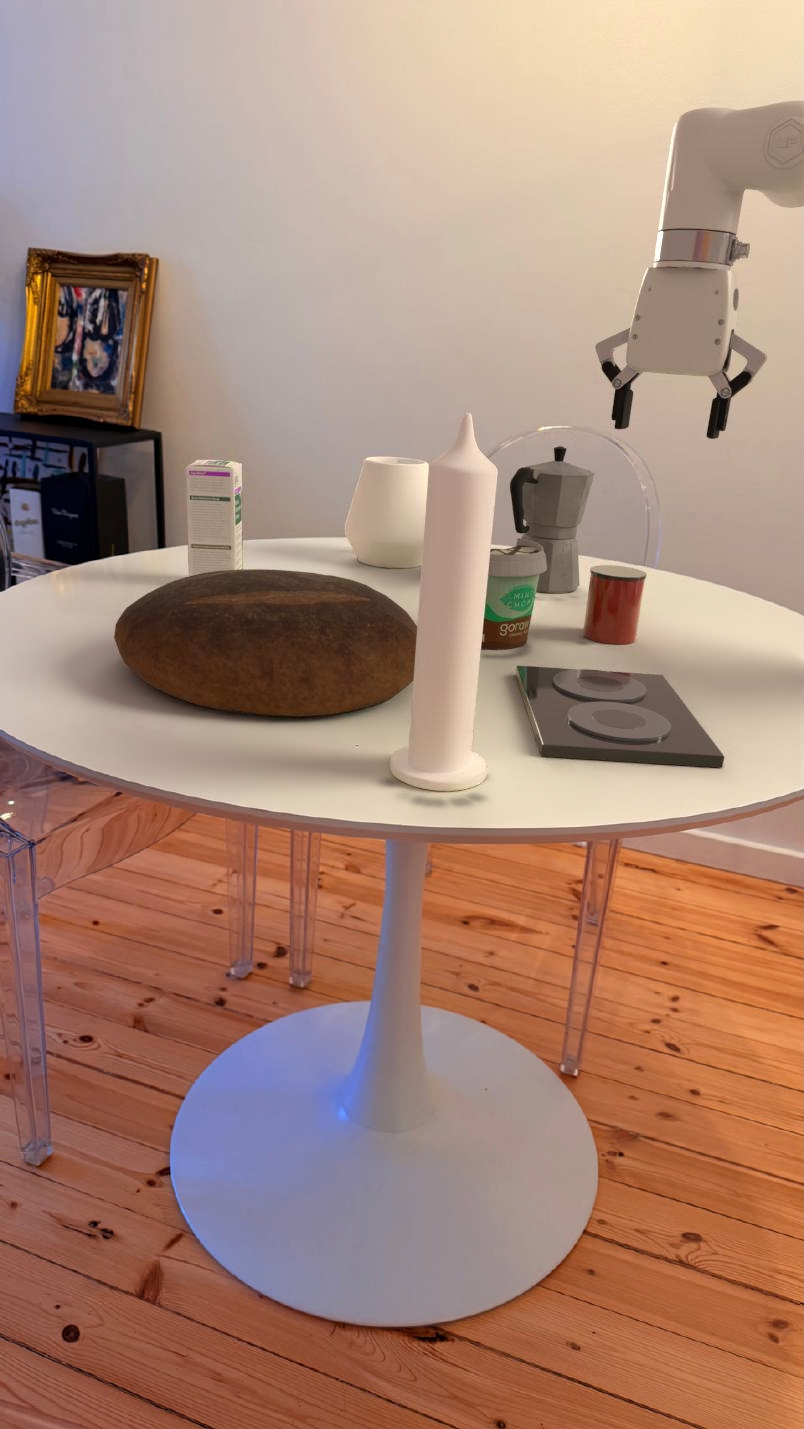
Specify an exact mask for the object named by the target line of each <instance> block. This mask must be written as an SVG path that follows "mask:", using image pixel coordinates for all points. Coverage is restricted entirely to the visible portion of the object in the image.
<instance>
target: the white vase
mask: <svg viewBox="0 0 804 1429" xmlns="http://www.w3.org/2000/svg"><path fill="white" fill-rule="evenodd" d="M360 469H361V470H360V473H359V476H358V479H357V482H356V486H355V489H354V492H353V496H352V500H351V503H350V506H349V510H348V513H347V517H346V520H345V523H344V534H345V537H346V539H347V540H348V542H349V545H350V546H351V548H352V550H353V552H354V554H355V556H356V558H357V560H358V562H360V563H362V564H363V565H368V566H372V567H376V568H377V567H378V568H386V569H411V568H412V569H413V568H416V567H421V566H422V555H423V541H424V527H425V513H426V499H427V485H428V471H429V463H428V462H427V461H425V460H422V459H417V458H411V457H400V456H399V457H398V456H369V457H366V458H364V459H363V463H362V466H361V468H360Z"/></svg>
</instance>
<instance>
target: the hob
mask: <svg viewBox="0 0 804 1429" xmlns="http://www.w3.org/2000/svg"><path fill="white" fill-rule="evenodd" d="M515 668H516V669H515V677H516V680H517V684H518V687H519V690H520V693H521V696H522V699H523V702H524V705H525V709H526V712H527V715H528V719H529V721H530V725H531V728H532V732H533V734H534V737H535V741H536V744H537V748H538V750H539V754H540V756H541V757H543V758H544V757H548V758H559V759H560V758H561V759H562V758H563V759H575V760H576V759H579V760H593V761H607V762H608V761H610V762H622V763H623V762H624V763H640V764H641V763H642V764H654V765H655V764H657V765H670V766H671V765H673V766H687V767H688V766H689V767H703V768H720V769H721V768H723V766H724V761H725V755H724V754H723V752H722V750H720V748H719V747H718V746H717V745H716V743H715V742H714V741H713V739H712V737H710V736H709V733H707V731H706V730H705V728H704V727H703V726H702V725H701V724H700V722H699V720H698V719H697V718H696V717H695V715H694V714H693V713H692V712H691V710H690V709H689V708H688V707H687V705H686V704H685V702H684V701H683V699H682V698H681V697H680V696H679V695H678V693H677V692H676V690H675V689H674V687H673V686H672V685H671V684H670V683H669V681H668V680H667V678H666V677H665V676H664V675H663V674H654V673H642V672H640V673H639V672H623V671H609V670H601V669H600V670H599V669H590V668H589V669H588V668H587V669H586V668H581V669H580V668H579V669H577V668H563V667H562V668H561V667H548V666H547V667H546V666H533V665H531V666H530V665H516V667H515Z"/></svg>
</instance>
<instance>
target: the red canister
mask: <svg viewBox="0 0 804 1429" xmlns="http://www.w3.org/2000/svg"><path fill="white" fill-rule="evenodd" d="M589 572H590V577H589V584H588V592H587V600H586V608H585V613H584V614H585V615H584V622H583V628H582V629H583V631H582V635H583V636H584V637H585V638H586V639H588V640H590V641H594V642H597V643H602V644H608V645H629V644H634V643H635V642H636V640H637V635H638V628H639V622H640V615H641V609H642V602H643V596H644V590H645V589H644V588H645V583H646V579H647V572H645V571H643V570H641V569H638V568H634V567H629V566H622V565H614V564H613V565H611V564H600V565H594V566H591V567H590V571H589Z"/></svg>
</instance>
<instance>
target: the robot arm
mask: <svg viewBox="0 0 804 1429" xmlns="http://www.w3.org/2000/svg"><path fill="white" fill-rule="evenodd" d="M669 147H670V148H669V154H668V159H667V160H668V161H667V167H666V174H665V175H666V176H665V183H664V189H663V196H662V201H661V202H662V203H661V210H660V215H659V216H660V217H659V223H658V230H657V237H656V245H655V251H654V258H653V265H652V267H646V270H645V272H644V275H643V278H642V281H641V284H640V288H639V292H638V295H637V298H636V302H635V306H634V310H633V315H632V320H631V324H630V327H628V328H627V329H624V330H622V331H620V332H617V333H616V334H614V335H611V336H609V337H607V338H605V339H603V340H600V341H599V342H597V343H596V344H595V347H594V348H595V353H596V355H597V358H598V362H599V363H600V366H601V367H600V369H601V371H602V372H603V374H604V376H605V377H606V378H607V380H608V381H609V382H610V384H611V387H612V388H613V389H614V394H613V395H614V396H613V402H612V404H613V405H612V409H611V421H614V430H625V429H628V428H629V426H630V419H631V414H632V413H631V412H632V406H633V401H634V400H633V398H634V390H633V389H631V388H632V384H633V383H634V382H635V381H636V380H637V379H638V378H639V377H640V376H641V375H642V374H643V373H649V374H651V373H652V374H664V375H676V376H678V375H679V376H690V377H708V379H709V380H710V382H711V384H712V386H713V387H714V389H715V390H716V397H713V398H712V399H711V400H712V401H711V407H710V413H709V418H708V424H707V429H706V438H707V439H708V440H709V439H710V440H715V439H718V438H719V436H720V432H725V431H726V429H727V424H728V418H729V413H730V407H731V401H732V398H734V397H735V396H736V395H737V394H738V393H739V392H741V391H742V390H743V389H744V388H745V387H747V386H748V385H749V384H750V383H752V382H753V380H754V378H755V377H756V376H757V374H758V373H759V372H760V370H761V369H762V367H763V366H764V364H765V363H766V362H767V360H768V356H767V354H766V353H765V352H763V351H762V350H760V349H759V348H757V347H756V346H755V345H753V344H751V343H750V342H748V341H747V340H745V339H744V338H742V337H741V336H739V335H738V334H736V332H737V324H738V323H737V322H738V315H739V314H738V312H739V301H740V300H739V298H740V273H739V272H738V271H734V270H732V267H733V266H734V263H736V261H737V260H738V261H739V260H740V259H748V258H749V254H750V250H751V244H750V242H749V243H748V242H746V243H745V242H743V241H740V240H739V239H738V236H737V234H738V228H739V223H740V217H741V211H742V210H741V209H742V204H743V200H744V194H745V191H746V190H750V191H751V190H752V191H757V192H759V193H762V194H763V196H764V197H766V198H767V200H768V201H770V202H771V203H772V204H774V205H776V206H779V207H781V208H787V209H794V208H803V207H804V100H788V101H787V100H786V101H781V102H776V103H771V104H767V105H762V106H756V107H749V108H742V109H734V108H729V107H728V108H727V107H701V108H695V109H692V110H689V111H686V112H684V113H683V114H681V115H680V116H679V117H678V118H677V120H676V122H675V124H674V126H673V129H672V134H671V139H670V146H669ZM623 346H626V351H625V352H626V353H625V363H626V365H625V367H624V368H623V369H622V370H621V368H620V367H619V366H618V364H617V363H616V361H615V359H614V355H613V354H614V351H615V350H617V349H619V348H622V347H623ZM734 352H736V353H737V354H739V356H741V357H743V358H745V359H746V365H745V366H744V368H743V370H742V371H741V372H740V373H738V374H737V375H736V376H735V377H734V378H732V379H730V377H729V375H728V372H729V370H730V368H731V365H732V361H733V355H734Z"/></svg>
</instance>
